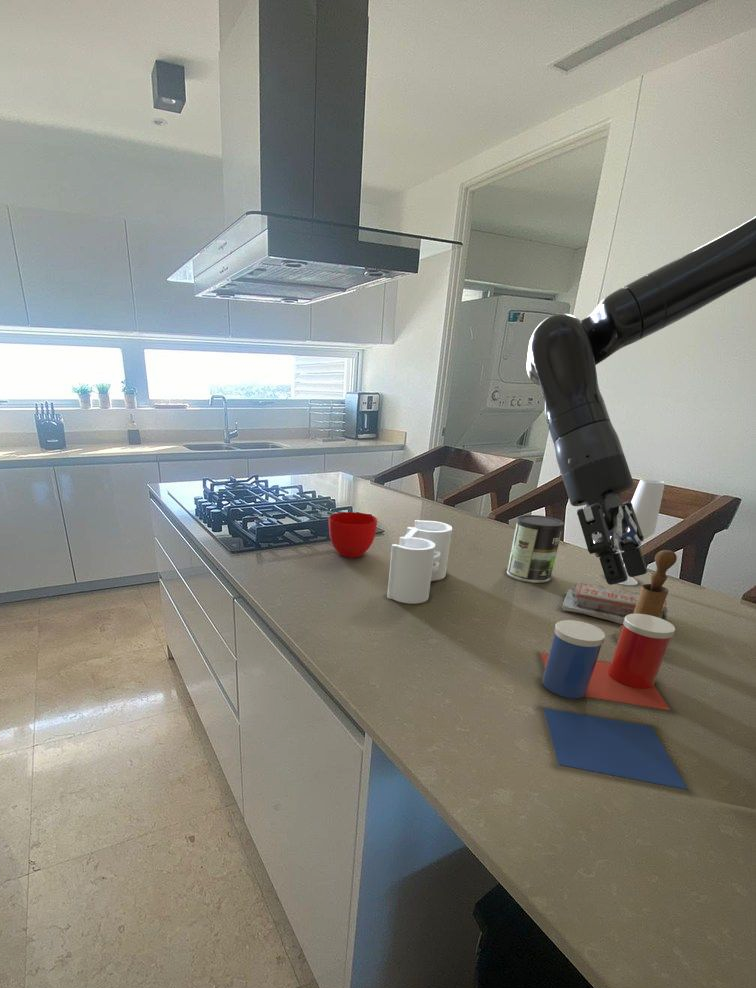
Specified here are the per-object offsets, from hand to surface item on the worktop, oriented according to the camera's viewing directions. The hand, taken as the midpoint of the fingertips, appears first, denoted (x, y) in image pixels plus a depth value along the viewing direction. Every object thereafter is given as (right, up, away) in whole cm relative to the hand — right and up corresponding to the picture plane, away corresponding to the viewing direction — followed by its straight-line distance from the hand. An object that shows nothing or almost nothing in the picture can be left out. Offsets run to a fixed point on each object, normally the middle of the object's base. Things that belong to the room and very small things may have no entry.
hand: (628, 579), depth 64 cm
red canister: (+10, -15, +14) cm, 23 cm away
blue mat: (-3, -22, 0) cm, 22 cm away
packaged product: (+21, -6, +37) cm, 43 cm away
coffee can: (+12, +3, +57) cm, 58 cm away
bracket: (-16, +1, +50) cm, 53 cm away
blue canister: (-2, -16, +12) cm, 20 cm away
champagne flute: (+35, +2, +55) cm, 65 cm away
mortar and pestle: (+19, -11, +26) cm, 33 cm away
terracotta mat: (+5, -16, +14) cm, 22 cm away
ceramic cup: (-30, +11, +71) cm, 78 cm away
